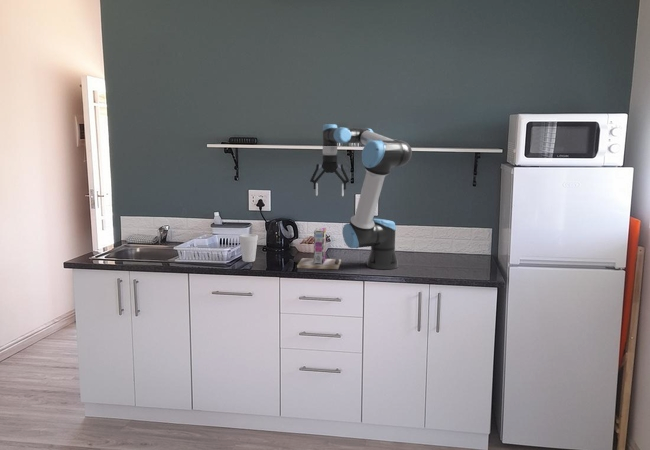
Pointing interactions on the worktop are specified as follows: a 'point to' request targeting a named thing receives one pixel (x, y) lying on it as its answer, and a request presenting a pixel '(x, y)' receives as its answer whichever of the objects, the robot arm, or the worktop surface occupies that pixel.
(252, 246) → the foam cup
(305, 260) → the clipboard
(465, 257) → the worktop surface
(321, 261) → the candy bar box
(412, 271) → the worktop surface
